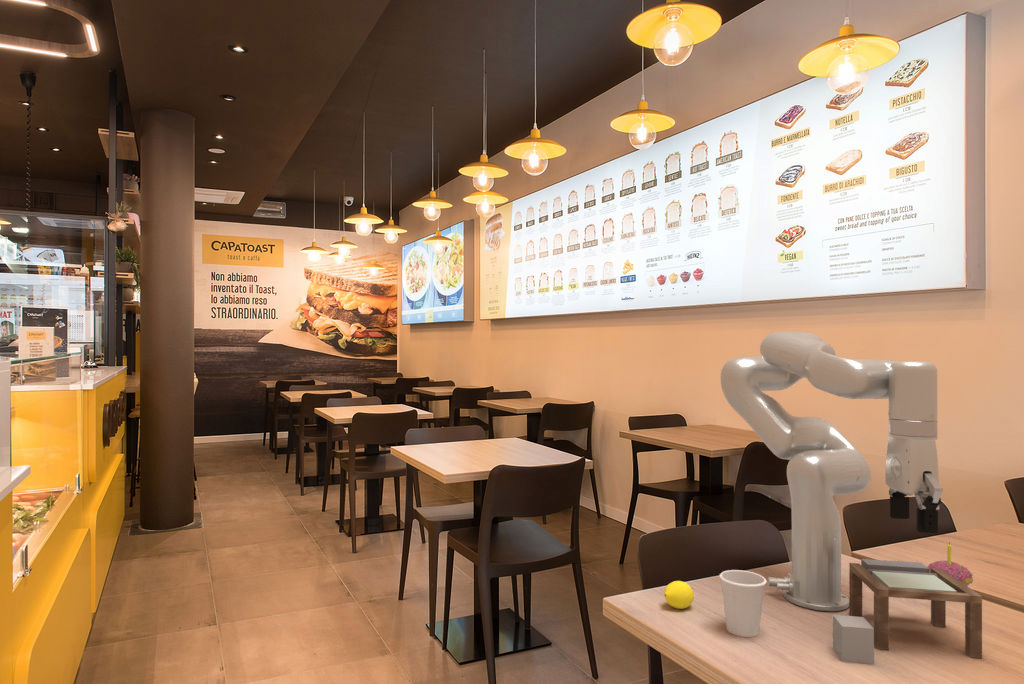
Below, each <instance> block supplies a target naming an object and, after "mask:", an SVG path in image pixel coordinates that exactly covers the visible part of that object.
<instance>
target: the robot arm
mask: <svg viewBox="0 0 1024 684" xmlns="http://www.w3.org/2000/svg"><path fill="white" fill-rule="evenodd" d="M759 351H760V355H759V356H758V355H757V356H756V355H755V356H754V355H743V356H737V357H735V358H732V359H729V360H727V361H726V363H724V365H723V366H722V368H721V370H720V371H721V372H720V385H721V386H720V387H721V389H722V392H723V395H724V398H725V399H726V401H727V402H728V404H729V406H730V407H731V408H732V410H734V411H735V412H736V413H737V414H738V415H739V416H740V417H741V418H742V419H743V420H744V421H745V422H746V423H747V424H748V425H749V426H750V428H751V429H752V431H754V433H755V434H756V435H757V436H758V437H759V438H760V440H761V441H762V442H763V443H764V445H765V446H766V447H767V448H768V449H769V450H770V452H772V454H773V455H775V456H776V457H777V458H779V459H781V460H788V464H787V465H786V478H787V479H786V480H787V483H788V484H787V485H788V488H789V494H790V503H791V505H790V506H791V572H787V576H782V577H775V576H774V577H773V576H768V577H767V585H768V587H776V590H779V591H780V590H783V597H784V598H785V600H787V601H788V602H790V603H791V604H794V605H796V606H799V607H802V608H806V609H808V610H809V609H810V610H814V611H822V612H839V611H844V610H846V609H848V608H849V597H848V596H847V595H846V594H844V593H842V518H841V513H840V511H839V510H840V509H838V507H837V504H836V502H835V500H834V498H833V496H838V495H849V494H856V493H859V492H862V491H865V489H866V488H867V487H868V486H870V483H871V479H872V471H871V468H870V464H869V463H868V461H867V459H866V458H865V457H864V455H863V454H862V452H860V450H858V448H856V446H855V445H854V444H853V443H852V442H851V441H850V440H848V438H847V437H845V435H843V433H842V432H841V431H840V430H839V429H838V428H836V426H835V425H833V424H832V423H831V422H829V421H827V420H826V419H823V418H820V417H816V416H795V415H792V414H790V413H789V412H788V411H787V410H786V409H785V408H784V407H783V406H782V405H781V404H780V402H778V401H777V400H776V399H774V398H773V397H772V396H770V395H768V394H766V393H764V392H766V391H767V392H771V391H772V392H774V391H775V392H776V391H777V392H779V391H782V390H786V389H788V388H791V387H792V386H794V385H795V384H797V382H799V381H800V380H802V379H803V378H805V379H806V380H807V381H808V382H809V383H810V385H811V386H813V387H814V388H816V389H818V390H820V391H823V392H826V393H829V394H831V395H834V396H837V397H840V398H843V399H844V398H845V399H849V400H869V399H870V400H871V399H873V400H886V399H887V400H888V440H887V446H886V447H887V448H886V456H885V477H884V478H885V481H884V482H885V485H886V486H887V487H889V489H888V495H889V517H890V518H891V519H896V520H897V519H901V520H902V519H903V520H904V519H905V520H908V519H909V518H910V497H911V496H913V495H914V497H915V500H916V503H917V505H918V507H919V508H916V531H917V532H919V533H925V534H926V533H929V534H937V533H938V531H939V510H940V504H941V502H942V498H941V497H942V495H943V490H944V489H943V487H942V485H941V484H940V483H939V481H940V480H939V479H940V477H939V476H940V474H939V461H938V452H937V451H938V449H937V444H936V441H937V440H938V437H939V435H938V431H939V430H938V368H937V366H936V365H935V364H934V363H933V362H929V361H920V360H919V361H916V360H915V361H914V360H913V361H910V360H909V361H908V360H907V361H906V360H905V361H902V360H901V361H900V360H899V361H897V360H890V359H867V358H865V359H863V358H862V359H861V358H859V359H857V358H856V359H853V358H852V359H851V358H845V357H843V356H842V357H841V356H838V355H837V354H836V350H835V349H834V347H833V346H832V345H831V344H829V343H827V342H826V341H823V340H822V338H821V337H820V336H819V335H817V334H815V333H813V332H808V331H786V330H785V331H775V332H771V333H770V334H768V335H766V336H765V337H764V338H763V339H762V341H761V343H760V346H759ZM909 496H910V497H909ZM924 498H925V499H924Z"/></svg>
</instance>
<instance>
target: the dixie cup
mask: <svg viewBox="0 0 1024 684" xmlns="http://www.w3.org/2000/svg"><path fill="white" fill-rule="evenodd" d="M718 577H719V579H720V582H721V591H722V599H723V607H724V608H723V609H724V617H725V626H726V630H727V631H728V632H729V633H730V634H731V635H735V636H737V637H742V638H754V637H756V636H758V635H759V633H760V625H761V624H760V623H761V619H762V618H761V617H762V609H763V602H764V597H765V596H764V595H765V589H766V587H765V586H766V584H768V580H767V579H766V578H765V577H764V576H763V575H761V574H759V573H756V572H752V571H748V570H741V569H740V570H739V569H731V570H730V569H727V570H724V571H722V572H721V573H719V576H718Z"/></svg>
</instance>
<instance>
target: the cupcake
mask: <svg viewBox="0 0 1024 684" xmlns="http://www.w3.org/2000/svg"><path fill="white" fill-rule="evenodd" d="M946 553H947V557H946V558H947V559H946V560H937V561H934V562H932V563H929V564H928V565H927V567H928V568H929V573H931V568H937V569H942V570H944V571H945V572H947V573H948V574H950V575H951V576H953V577H954V578H955V579H957V580H958V581H960V582H961V583H963V584H964V585H966V586H967V587H969V585H970V584H973V582H974V577H973V576H974V575H973V573H972V572H971V571H970V570H969V569H968V568H967V567H965V566H964V565H961V564H959V563H958V562H955V561H952V545H951V542H950V541H948V544H947V552H946Z"/></svg>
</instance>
